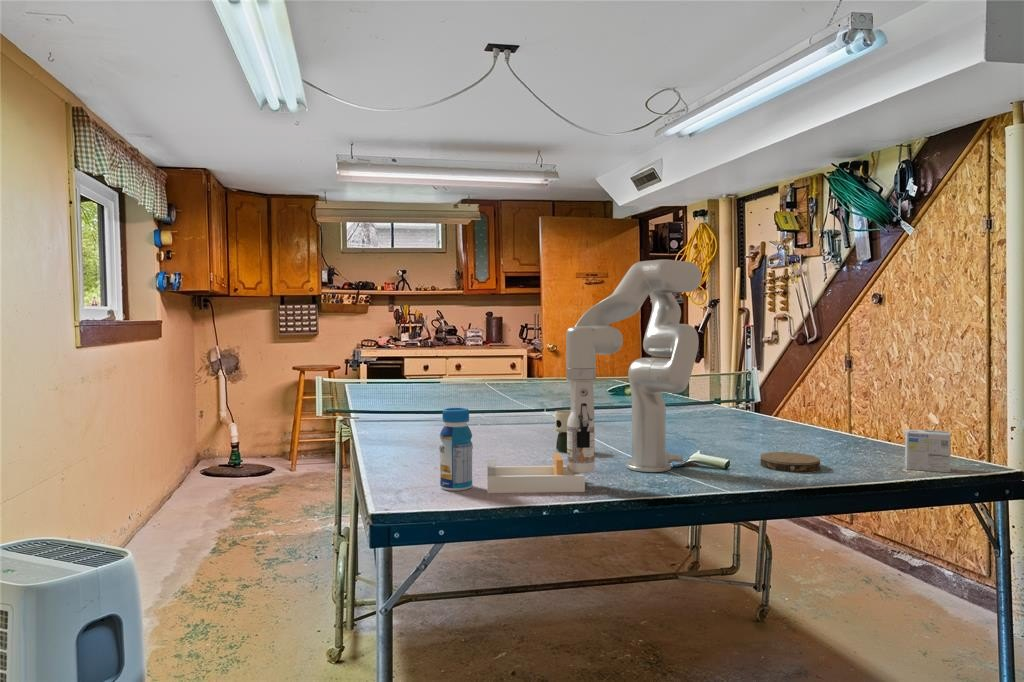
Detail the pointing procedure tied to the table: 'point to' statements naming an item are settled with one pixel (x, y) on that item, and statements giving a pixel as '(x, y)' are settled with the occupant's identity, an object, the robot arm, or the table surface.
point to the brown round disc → (790, 462)
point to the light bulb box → (927, 450)
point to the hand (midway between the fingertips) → (581, 444)
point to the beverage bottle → (455, 450)
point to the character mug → (561, 428)
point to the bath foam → (579, 457)
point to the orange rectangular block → (558, 464)
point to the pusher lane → (532, 479)
